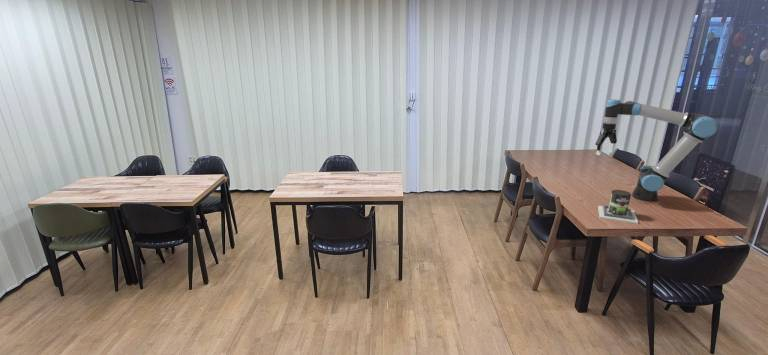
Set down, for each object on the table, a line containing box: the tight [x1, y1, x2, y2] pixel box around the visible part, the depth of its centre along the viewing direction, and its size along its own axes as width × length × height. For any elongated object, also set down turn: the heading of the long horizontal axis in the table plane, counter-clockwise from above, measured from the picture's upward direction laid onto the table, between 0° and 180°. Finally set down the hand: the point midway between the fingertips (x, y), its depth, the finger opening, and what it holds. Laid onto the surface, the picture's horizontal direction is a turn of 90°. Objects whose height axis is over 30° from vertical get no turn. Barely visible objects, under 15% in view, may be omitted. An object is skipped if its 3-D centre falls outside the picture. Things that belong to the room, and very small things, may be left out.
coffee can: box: [608, 189, 632, 216], centre depth 225 cm, size 10×10×14 cm
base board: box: [597, 205, 639, 225], centre depth 227 cm, size 20×20×2 cm
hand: (604, 153), depth 249 cm, fingers open, 13 cm apart
